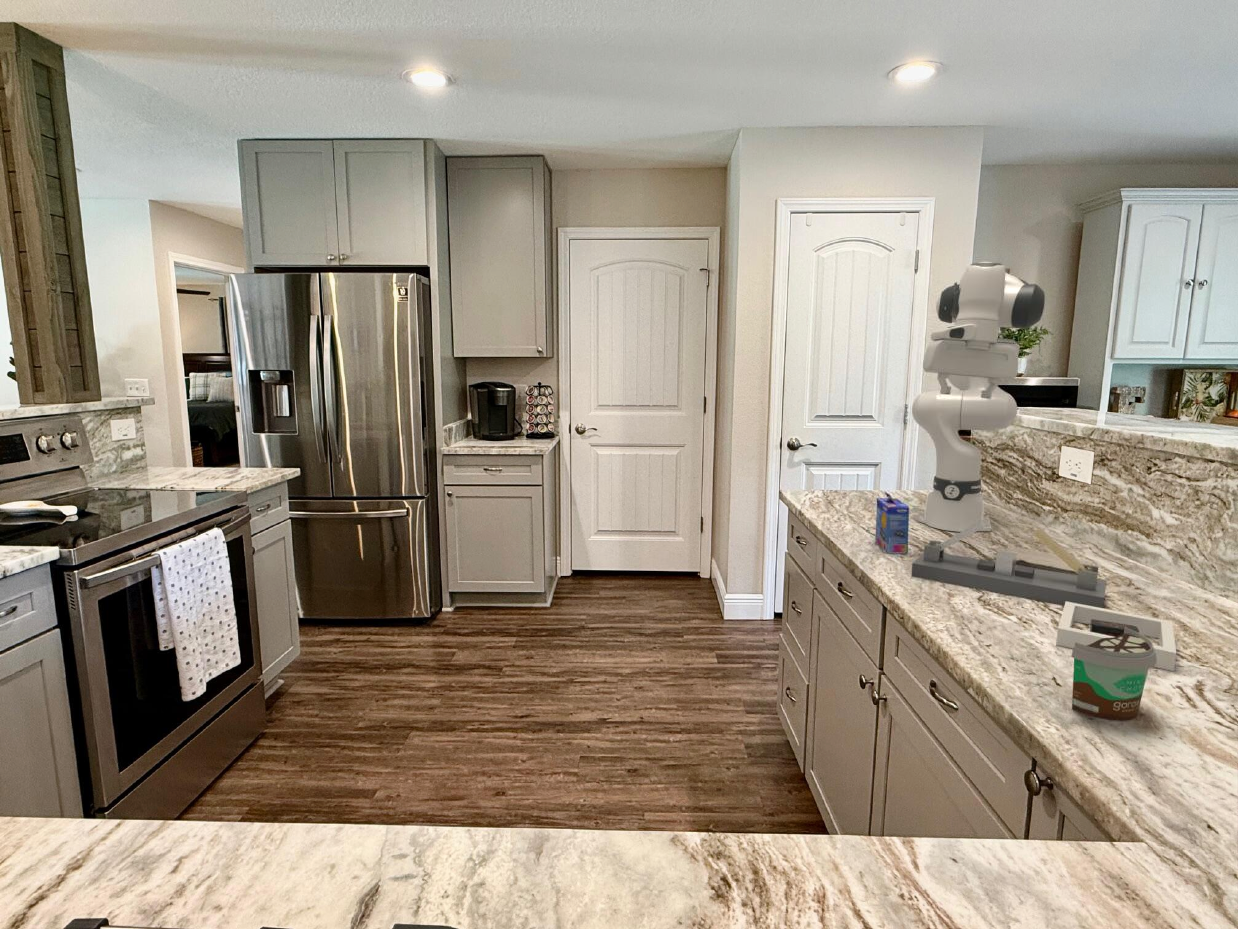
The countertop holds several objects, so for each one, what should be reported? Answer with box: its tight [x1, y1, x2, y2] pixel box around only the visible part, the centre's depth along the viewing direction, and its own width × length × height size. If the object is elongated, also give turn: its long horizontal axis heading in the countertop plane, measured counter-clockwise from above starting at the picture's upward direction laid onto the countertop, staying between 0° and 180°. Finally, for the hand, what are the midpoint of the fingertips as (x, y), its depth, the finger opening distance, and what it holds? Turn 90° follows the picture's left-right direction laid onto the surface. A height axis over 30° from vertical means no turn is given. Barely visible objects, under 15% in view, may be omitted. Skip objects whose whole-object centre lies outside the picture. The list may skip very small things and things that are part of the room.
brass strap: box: [1032, 527, 1092, 574], centre depth 127 cm, size 3×13×2 cm
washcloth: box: [992, 546, 1094, 576], centre depth 146 cm, size 12×18×3 cm, turn 43°
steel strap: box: [934, 520, 986, 551], centre depth 139 cm, size 3×13×2 cm
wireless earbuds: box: [1088, 619, 1139, 637], centre depth 108 cm, size 5×7×3 cm, turn 59°
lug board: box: [911, 540, 1107, 608], centre depth 134 cm, size 12×34×6 cm, turn 51°
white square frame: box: [1056, 601, 1177, 672], centre depth 107 cm, size 15×15×3 cm
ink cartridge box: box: [874, 491, 910, 555], centre depth 160 cm, size 10×6×14 cm, turn 174°
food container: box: [1070, 628, 1157, 722], centre depth 85 cm, size 12×6×10 cm, turn 114°
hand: (965, 396), depth 144 cm, fingers open, 8 cm apart
